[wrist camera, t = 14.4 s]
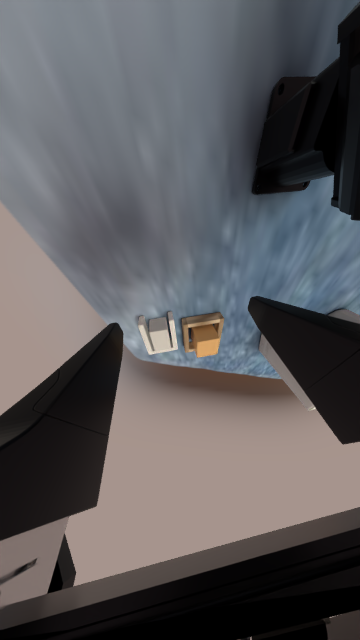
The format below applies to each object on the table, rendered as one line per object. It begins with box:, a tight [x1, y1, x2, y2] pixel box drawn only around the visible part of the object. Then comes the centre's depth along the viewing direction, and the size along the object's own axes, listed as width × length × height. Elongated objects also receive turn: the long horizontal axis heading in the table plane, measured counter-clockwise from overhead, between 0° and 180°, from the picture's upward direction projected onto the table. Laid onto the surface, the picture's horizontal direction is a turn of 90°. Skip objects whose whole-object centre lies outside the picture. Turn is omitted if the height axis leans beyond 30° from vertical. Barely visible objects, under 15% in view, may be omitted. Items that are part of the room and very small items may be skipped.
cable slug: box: [149, 317, 171, 351], centre depth 23 cm, size 3×5×4 cm, turn 4°
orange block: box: [191, 324, 220, 358], centre depth 25 cm, size 4×4×5 cm
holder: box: [182, 312, 224, 352], centre depth 26 cm, size 8×8×2 cm
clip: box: [138, 311, 178, 355], centre depth 24 cm, size 6×8×2 cm
